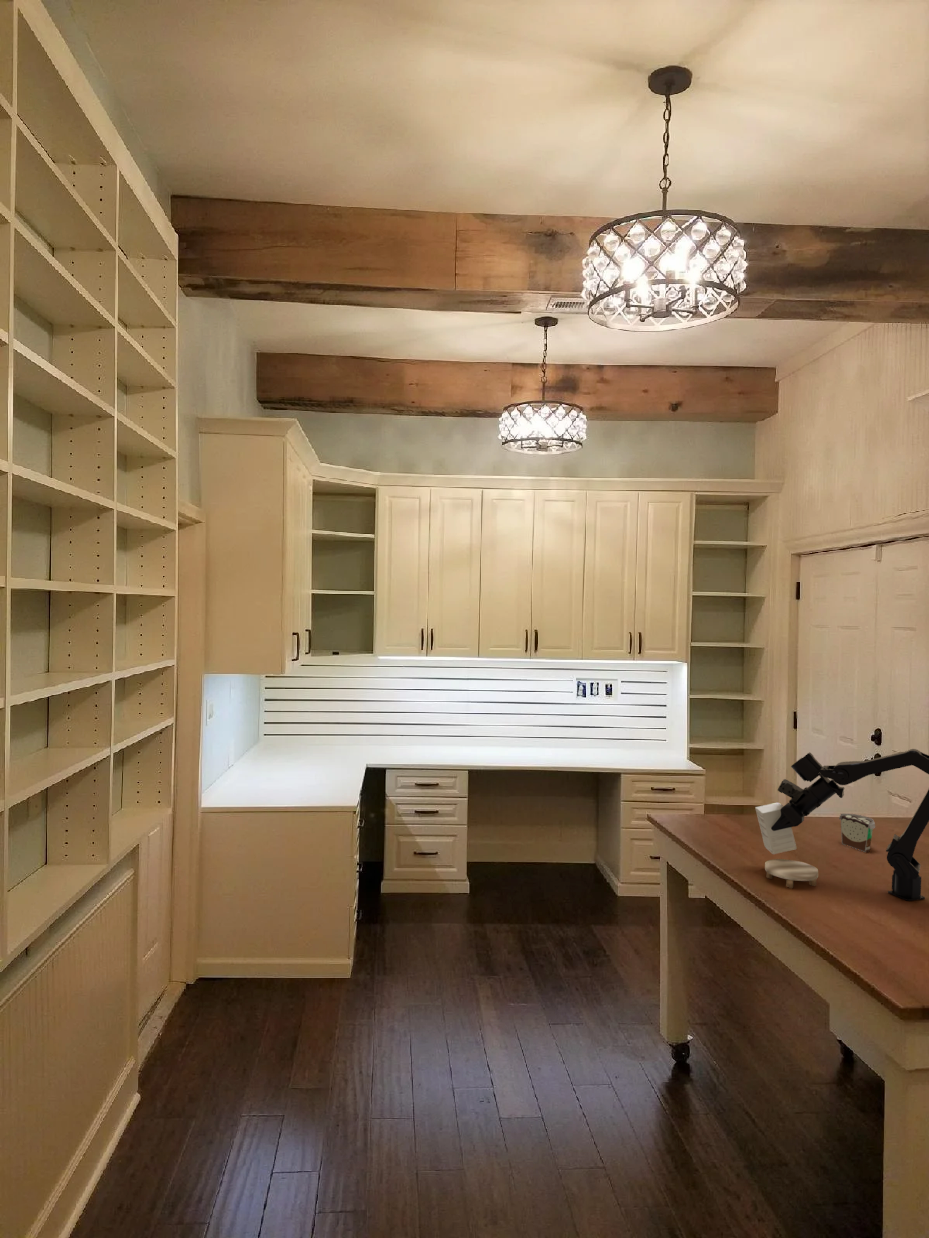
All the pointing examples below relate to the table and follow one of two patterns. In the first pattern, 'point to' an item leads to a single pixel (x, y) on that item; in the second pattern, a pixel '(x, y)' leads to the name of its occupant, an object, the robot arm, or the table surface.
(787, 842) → the supplement box
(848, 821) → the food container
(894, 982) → the table surface
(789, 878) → the stool
